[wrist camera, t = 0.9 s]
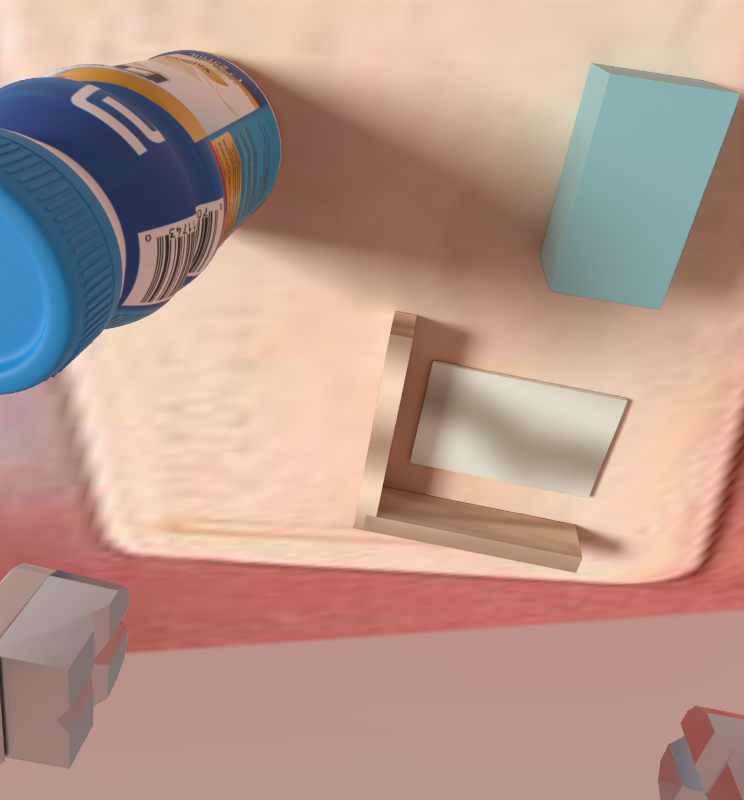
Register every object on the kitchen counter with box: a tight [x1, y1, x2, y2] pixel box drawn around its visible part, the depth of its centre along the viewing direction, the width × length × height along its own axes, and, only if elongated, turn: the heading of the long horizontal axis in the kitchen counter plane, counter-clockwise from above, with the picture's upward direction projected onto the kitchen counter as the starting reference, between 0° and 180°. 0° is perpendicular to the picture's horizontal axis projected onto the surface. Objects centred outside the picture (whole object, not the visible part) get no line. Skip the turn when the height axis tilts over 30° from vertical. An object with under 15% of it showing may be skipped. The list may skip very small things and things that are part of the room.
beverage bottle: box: [0, 50, 281, 395], centre depth 26 cm, size 8×8×20 cm
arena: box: [354, 311, 628, 573], centre depth 40 cm, size 13×14×3 cm
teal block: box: [540, 63, 740, 310], centre depth 31 cm, size 9×5×5 cm, turn 172°
